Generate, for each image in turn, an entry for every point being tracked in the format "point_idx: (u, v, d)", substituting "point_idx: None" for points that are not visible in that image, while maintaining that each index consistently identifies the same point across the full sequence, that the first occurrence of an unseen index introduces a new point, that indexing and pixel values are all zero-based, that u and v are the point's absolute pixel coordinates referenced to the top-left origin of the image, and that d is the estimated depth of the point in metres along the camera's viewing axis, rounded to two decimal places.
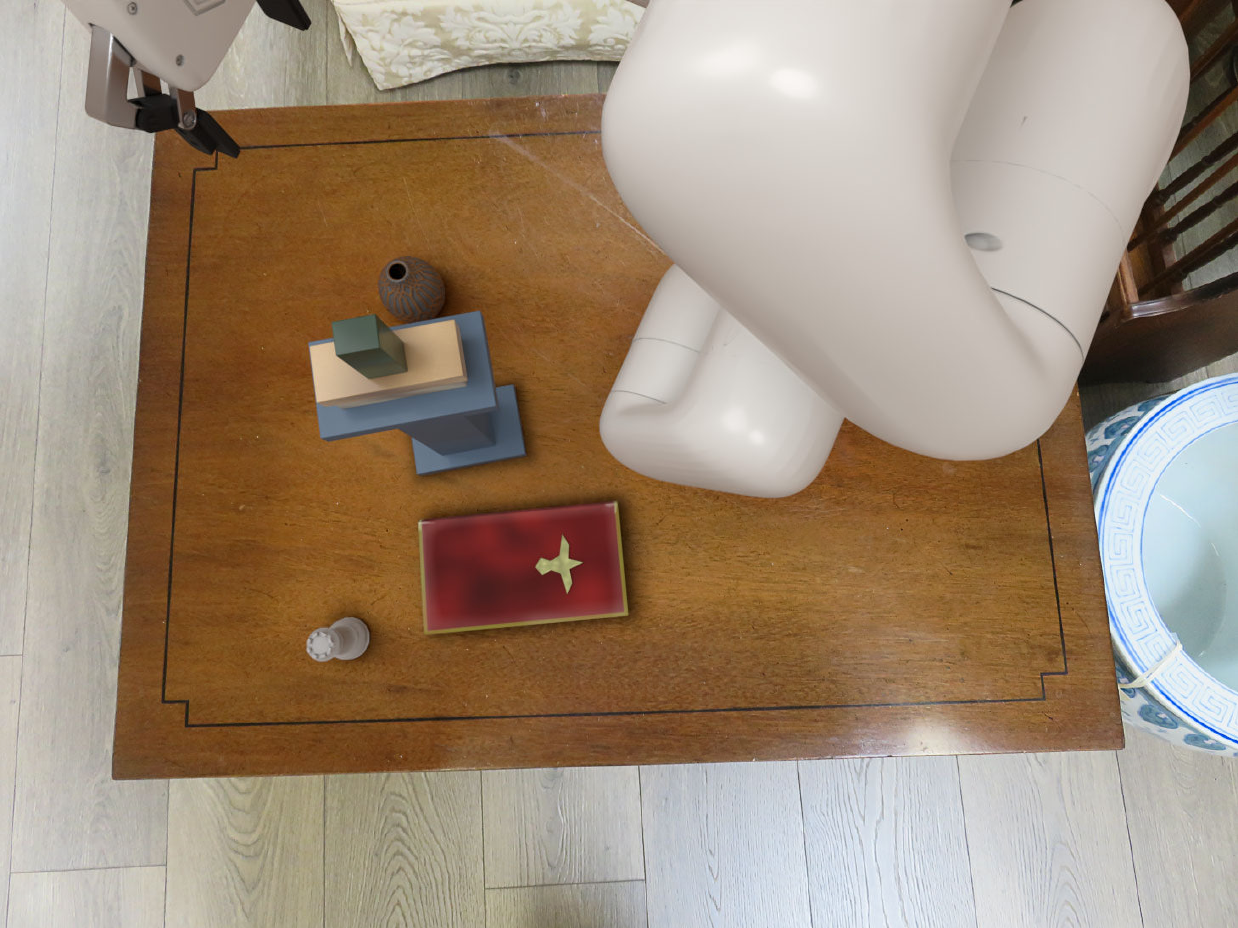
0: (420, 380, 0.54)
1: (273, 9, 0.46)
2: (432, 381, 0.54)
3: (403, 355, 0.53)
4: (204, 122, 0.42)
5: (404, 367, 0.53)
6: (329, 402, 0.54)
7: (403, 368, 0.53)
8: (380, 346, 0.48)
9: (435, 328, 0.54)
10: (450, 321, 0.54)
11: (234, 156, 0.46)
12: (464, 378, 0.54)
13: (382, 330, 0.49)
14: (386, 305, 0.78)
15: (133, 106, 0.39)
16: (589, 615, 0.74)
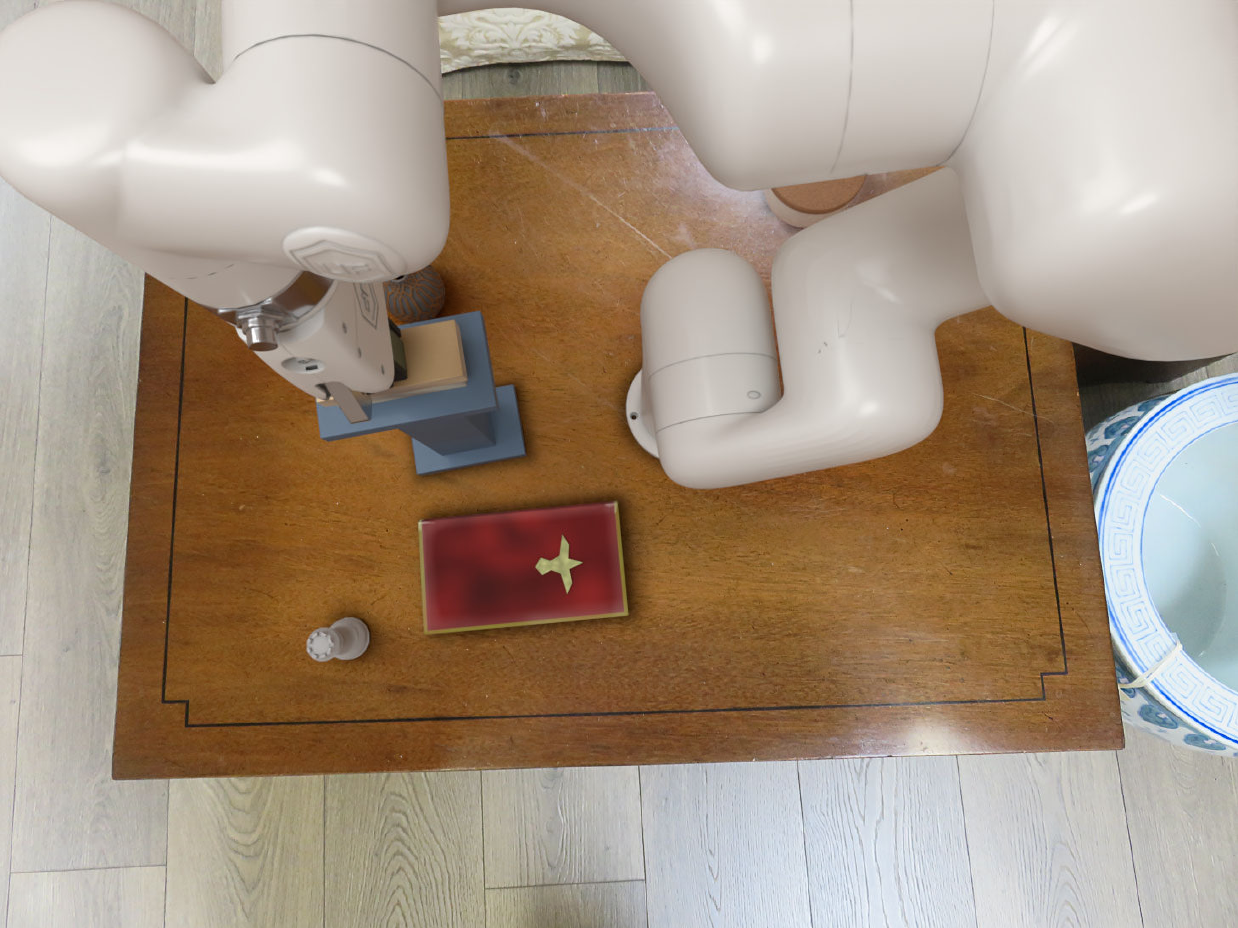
0: (420, 380, 0.54)
1: None
2: (432, 381, 0.54)
3: (403, 355, 0.53)
4: None
5: (404, 367, 0.53)
6: (329, 402, 0.54)
7: None
8: None
9: (435, 328, 0.54)
10: (450, 321, 0.54)
11: (405, 378, 0.53)
12: (464, 378, 0.54)
13: None
14: (386, 305, 0.78)
15: None
16: (589, 615, 0.74)
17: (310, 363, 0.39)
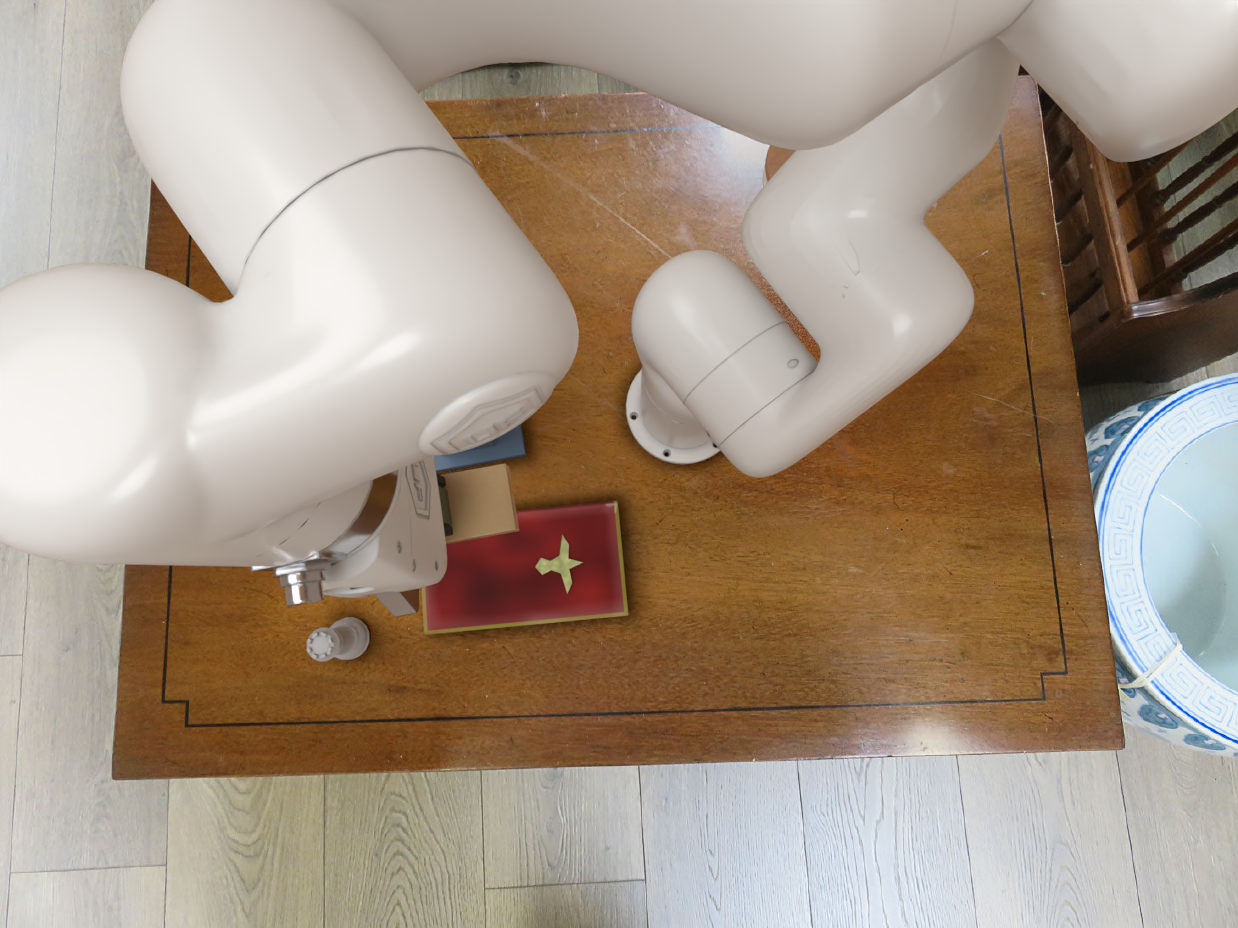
0: (466, 535, 0.47)
1: None
2: (480, 536, 0.47)
3: (447, 507, 0.46)
4: None
5: (449, 522, 0.46)
6: None
7: (448, 523, 0.46)
8: None
9: (483, 473, 0.47)
10: (500, 465, 0.47)
11: (450, 534, 0.46)
12: (516, 530, 0.48)
13: None
14: None
15: None
16: (589, 615, 0.74)
17: None
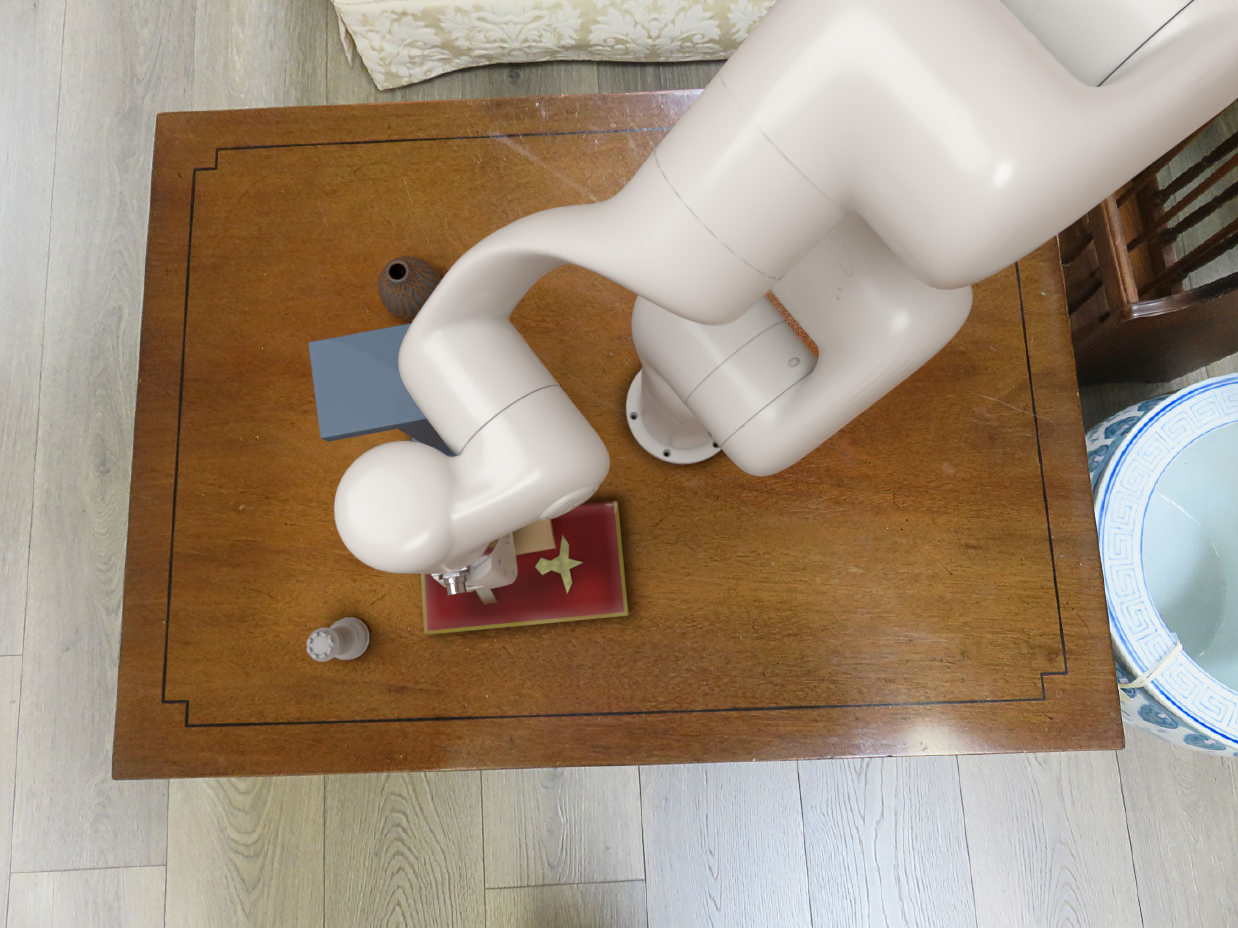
0: (521, 551, 0.70)
1: None
2: (530, 552, 0.70)
3: None
4: None
5: None
6: None
7: None
8: None
9: None
10: None
11: None
12: (554, 547, 0.70)
13: None
14: (386, 305, 0.78)
15: None
16: (589, 615, 0.74)
17: None
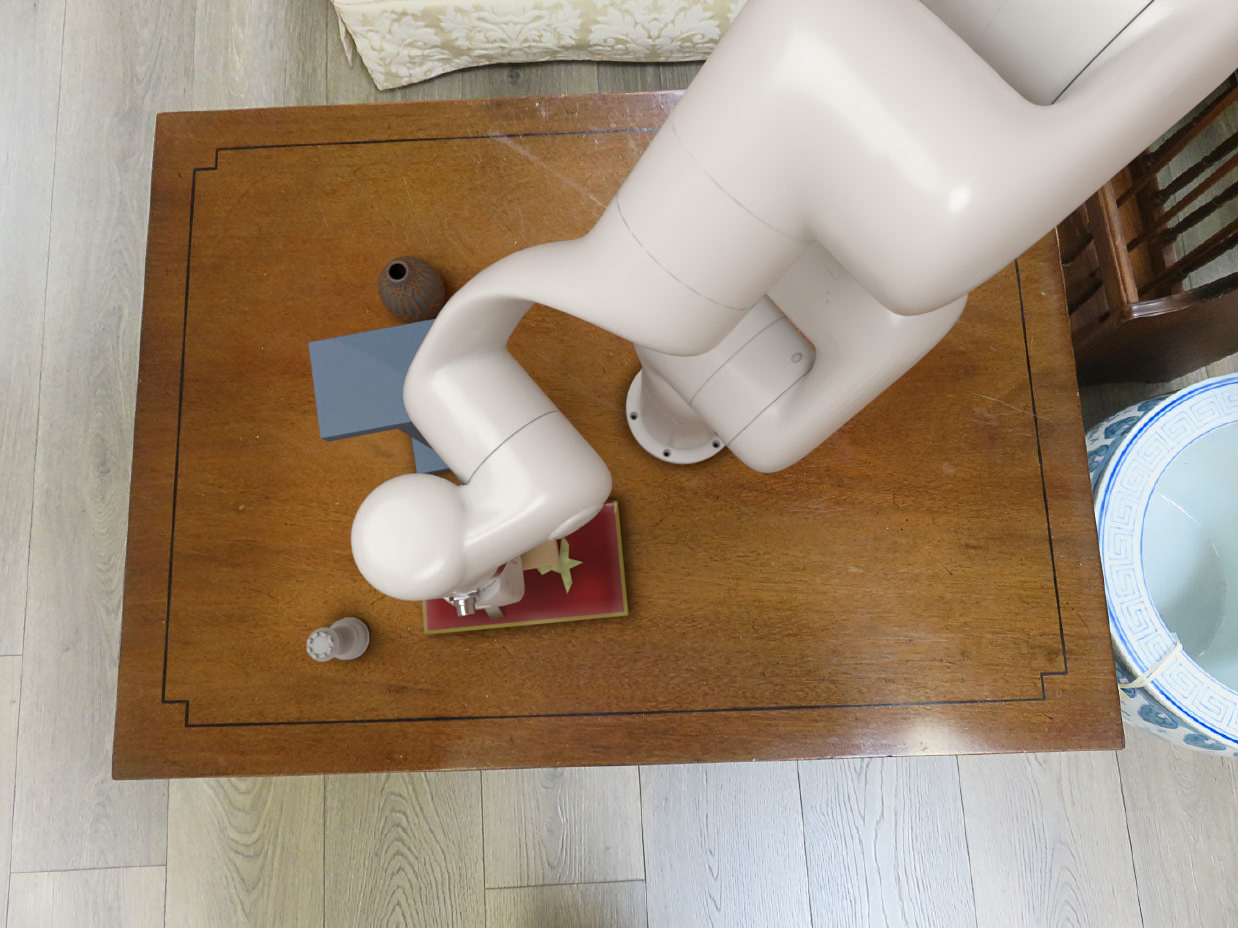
0: (526, 567, 0.71)
1: None
2: (535, 567, 0.71)
3: None
4: None
5: None
6: None
7: None
8: None
9: None
10: None
11: None
12: (558, 563, 0.72)
13: None
14: (386, 305, 0.78)
15: None
16: (589, 615, 0.74)
17: None
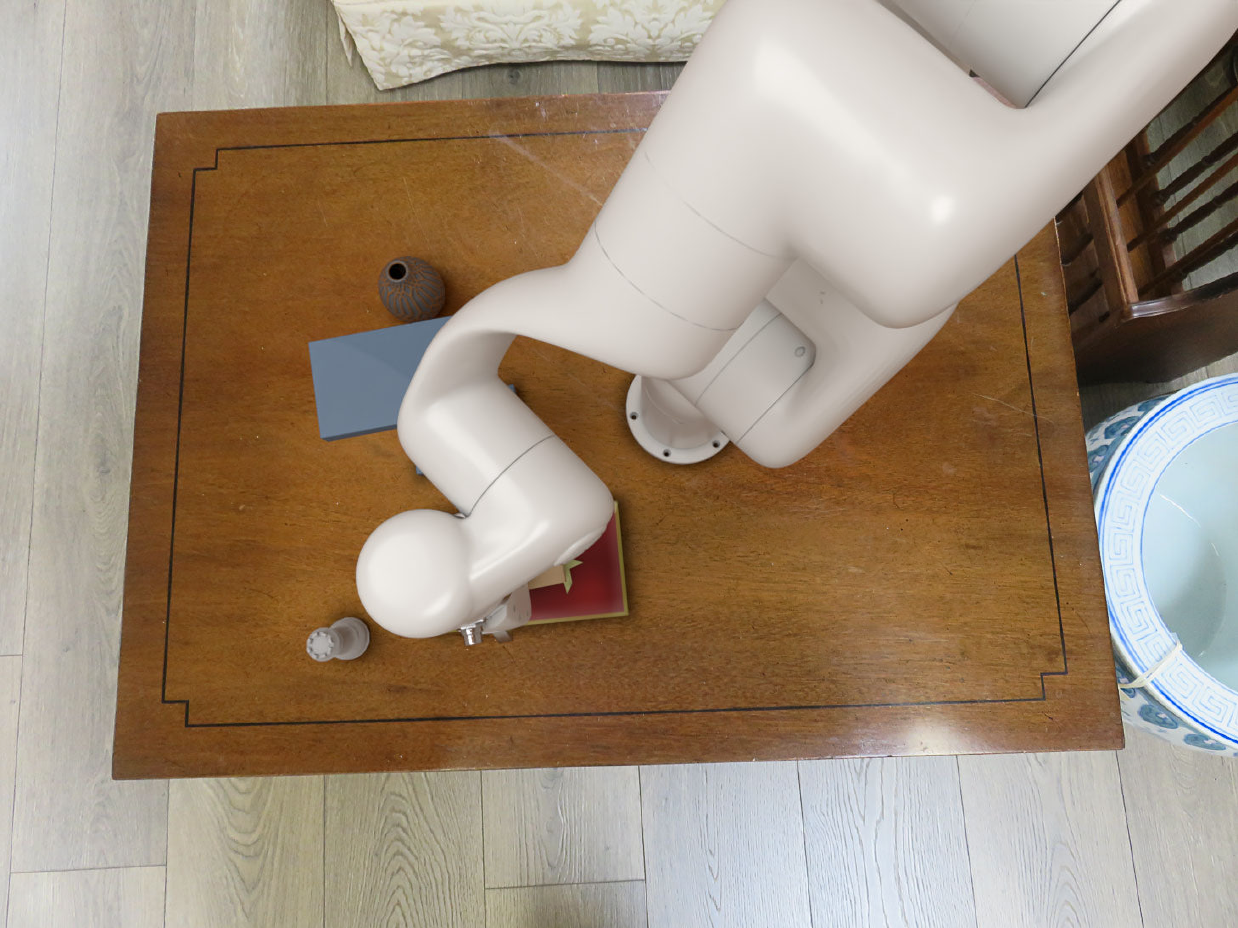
0: (532, 586, 0.71)
1: None
2: (542, 586, 0.71)
3: None
4: None
5: None
6: None
7: None
8: None
9: None
10: None
11: None
12: None
13: None
14: (386, 305, 0.78)
15: None
16: (589, 615, 0.74)
17: None
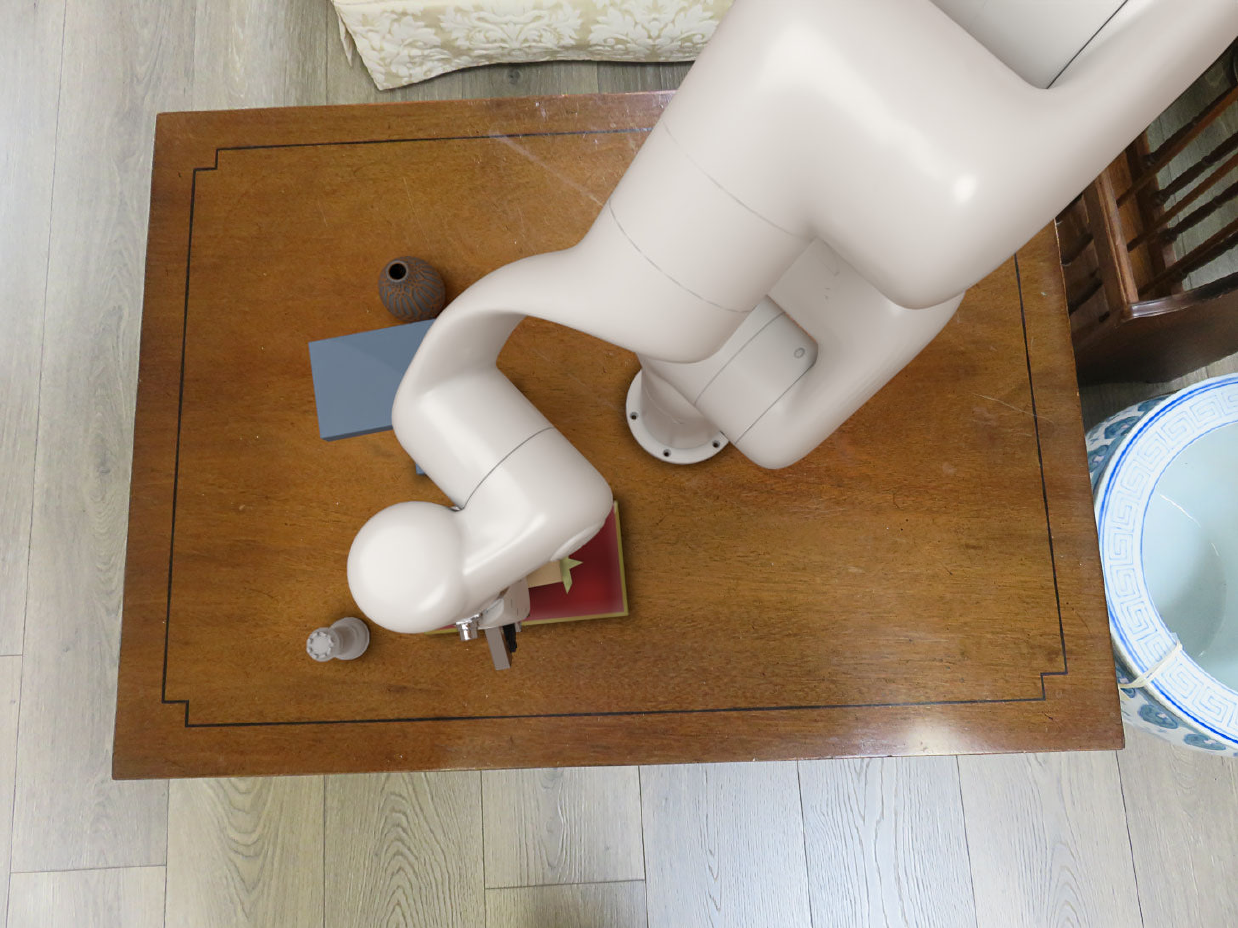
0: (529, 585, 0.71)
1: None
2: (538, 585, 0.71)
3: None
4: None
5: None
6: None
7: None
8: None
9: None
10: None
11: (528, 616, 0.68)
12: (561, 581, 0.72)
13: None
14: (386, 305, 0.78)
15: (508, 646, 0.61)
16: (589, 615, 0.74)
17: None
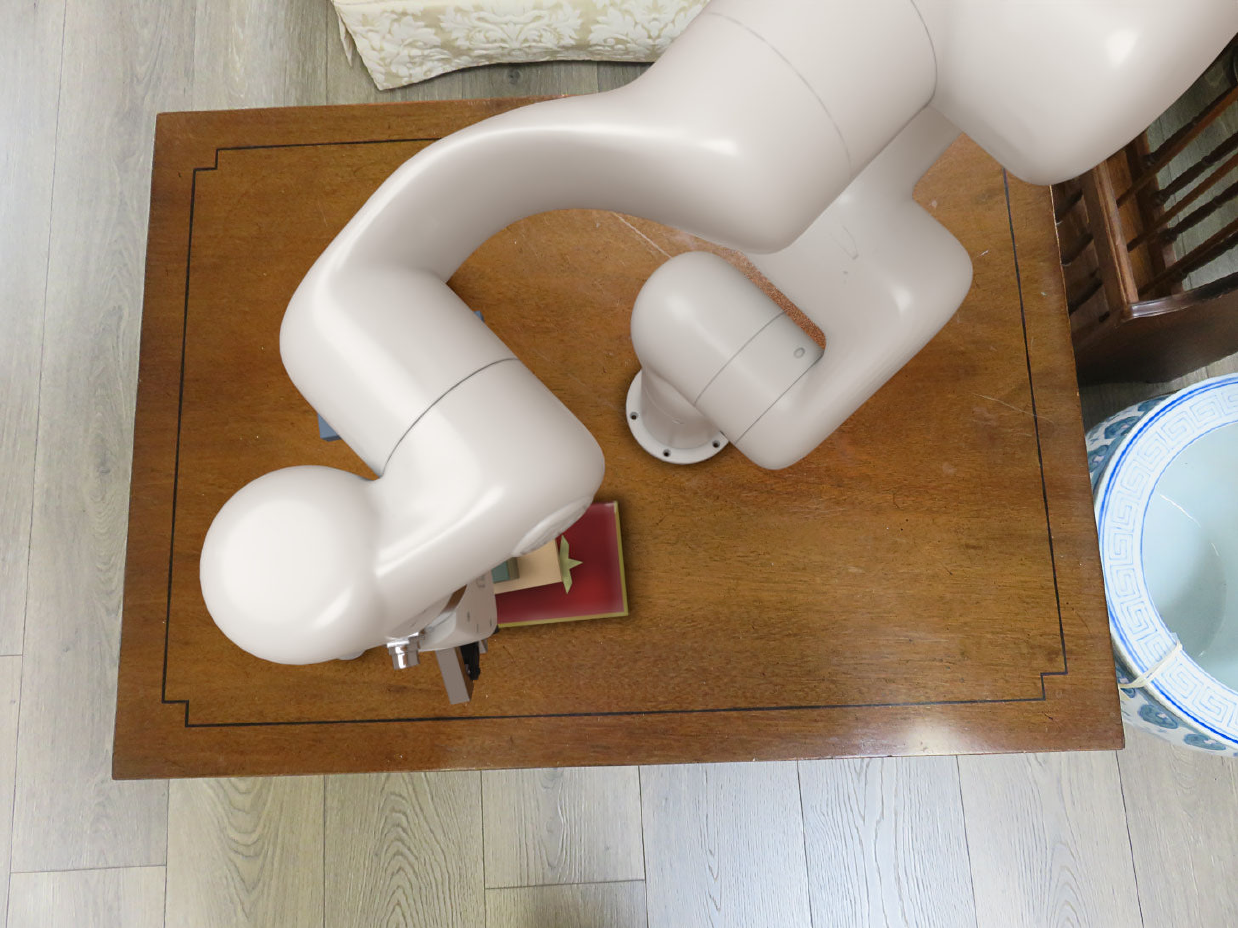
0: (529, 585, 0.71)
1: None
2: (538, 585, 0.71)
3: (517, 567, 0.70)
4: (490, 634, 0.50)
5: (518, 577, 0.70)
6: None
7: (517, 578, 0.70)
8: (509, 578, 0.65)
9: None
10: None
11: (497, 632, 0.54)
12: (561, 581, 0.72)
13: (508, 562, 0.66)
14: None
15: (468, 672, 0.47)
16: (589, 615, 0.74)
17: None
